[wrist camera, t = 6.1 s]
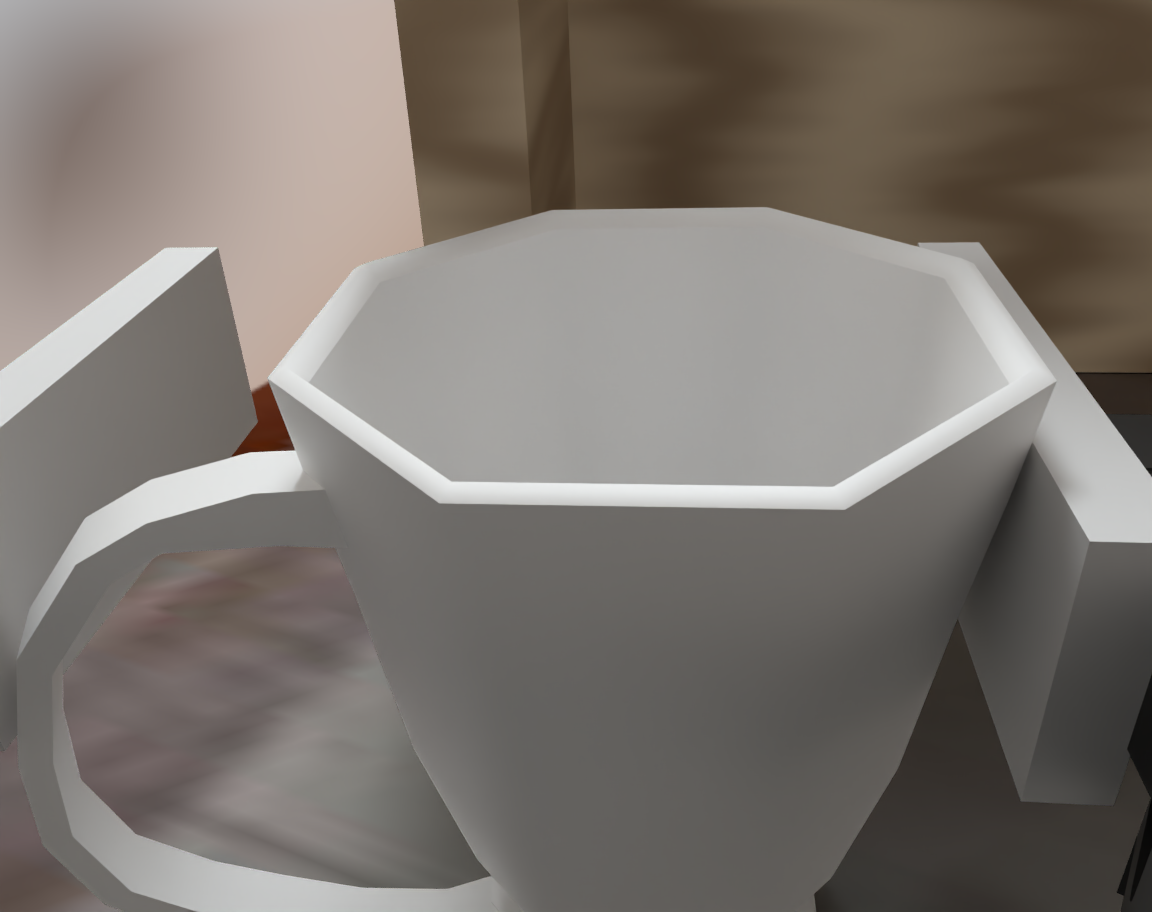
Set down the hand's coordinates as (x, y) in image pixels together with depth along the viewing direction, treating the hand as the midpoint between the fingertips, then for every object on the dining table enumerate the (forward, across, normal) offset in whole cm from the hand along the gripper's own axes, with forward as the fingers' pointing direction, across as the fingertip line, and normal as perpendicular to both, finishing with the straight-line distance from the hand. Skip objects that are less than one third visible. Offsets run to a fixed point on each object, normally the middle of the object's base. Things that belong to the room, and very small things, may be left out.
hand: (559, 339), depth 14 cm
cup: (-4, 0, -6) cm, 8 cm away
